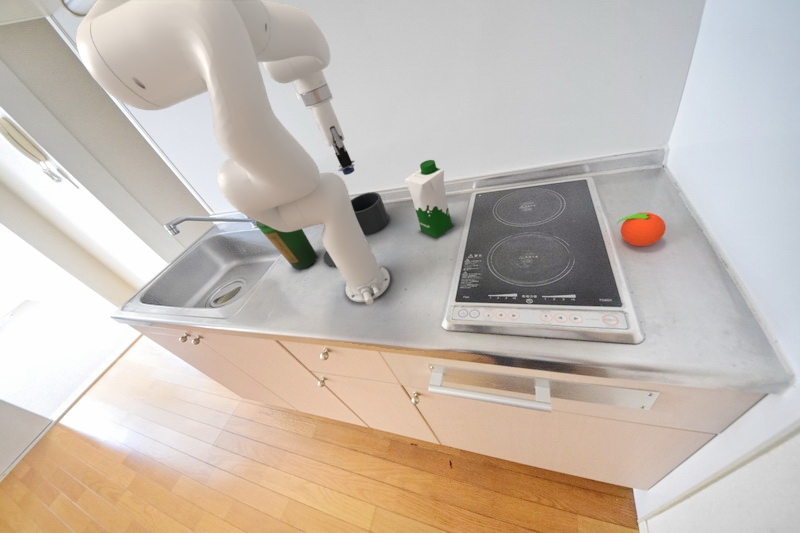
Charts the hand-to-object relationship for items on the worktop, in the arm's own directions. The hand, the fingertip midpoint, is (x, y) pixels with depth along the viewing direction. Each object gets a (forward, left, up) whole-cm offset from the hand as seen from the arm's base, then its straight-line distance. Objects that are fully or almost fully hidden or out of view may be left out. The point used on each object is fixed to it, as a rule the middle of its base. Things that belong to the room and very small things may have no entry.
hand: (346, 164), depth 81 cm
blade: (0, 0, -2) cm, 2 cm away
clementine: (-56, -46, -23) cm, 76 cm away
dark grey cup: (0, 0, -22) cm, 22 cm away
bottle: (-4, +26, -23) cm, 35 cm away
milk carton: (-20, -16, -23) cm, 34 cm away
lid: (-9, +13, -22) cm, 27 cm away
